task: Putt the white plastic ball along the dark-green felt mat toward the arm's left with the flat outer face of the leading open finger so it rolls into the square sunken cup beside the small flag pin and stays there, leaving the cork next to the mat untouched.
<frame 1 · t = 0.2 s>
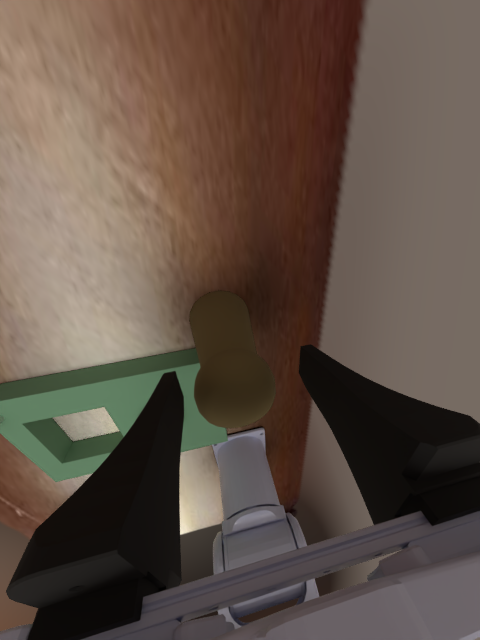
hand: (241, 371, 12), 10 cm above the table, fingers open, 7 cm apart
green: (131, 408, 25), on the table
cork: (219, 317, 22), on the table
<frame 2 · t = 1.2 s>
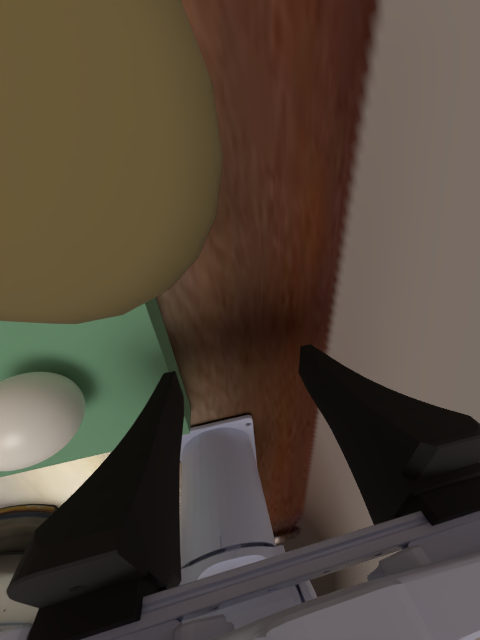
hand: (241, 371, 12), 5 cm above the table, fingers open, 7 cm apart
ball: (30, 417, 11), point 5 cm above the table, touching green
green: (16, 374, 15), on the table
apothecary jar: (32, 523, 24), on the table
cork: (152, 185, 11), on the table
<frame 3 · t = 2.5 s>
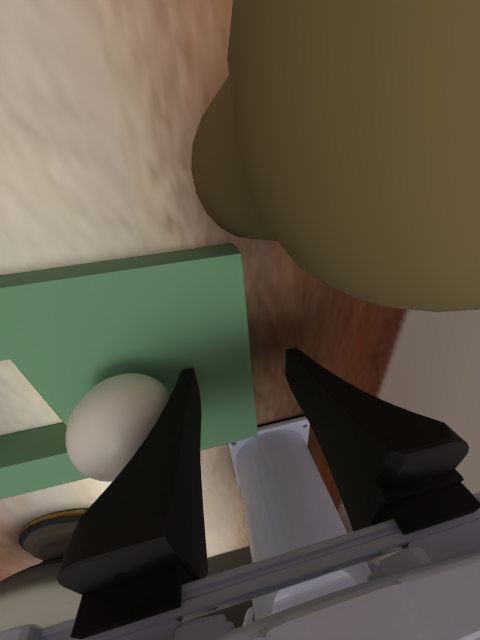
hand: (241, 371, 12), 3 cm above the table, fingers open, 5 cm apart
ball: (126, 421, 10), point 5 cm above the table, touching green, gripper
green: (87, 376, 14), on the table
apothecary jar: (77, 528, 23), on the table
cork: (254, 172, 10), on the table
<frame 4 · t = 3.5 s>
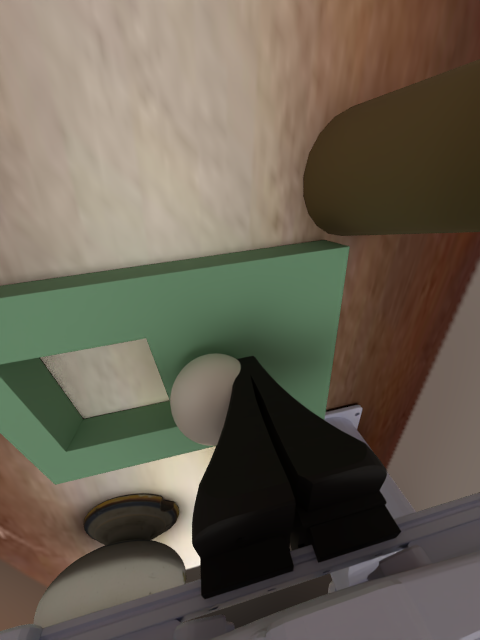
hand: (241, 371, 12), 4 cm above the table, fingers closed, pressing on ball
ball: (214, 396, 11), point 5 cm above the table, tilted 44°, touching green, gripper
green: (180, 360, 15), on the table
apothecary jar: (134, 514, 24), on the table
cork: (352, 178, 12), on the table
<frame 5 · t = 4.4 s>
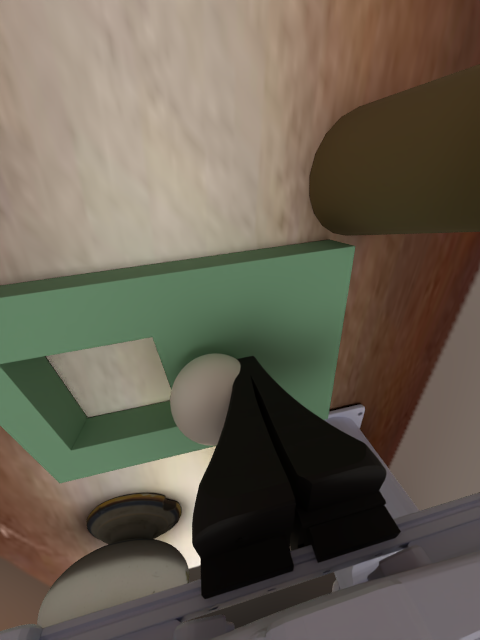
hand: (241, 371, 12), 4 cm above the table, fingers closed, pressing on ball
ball: (214, 396, 11), point 5 cm above the table, tilted 53°, touching green, gripper
green: (184, 359, 15), on the table
apothecary jar: (137, 513, 25), on the table
cork: (357, 178, 12), on the table
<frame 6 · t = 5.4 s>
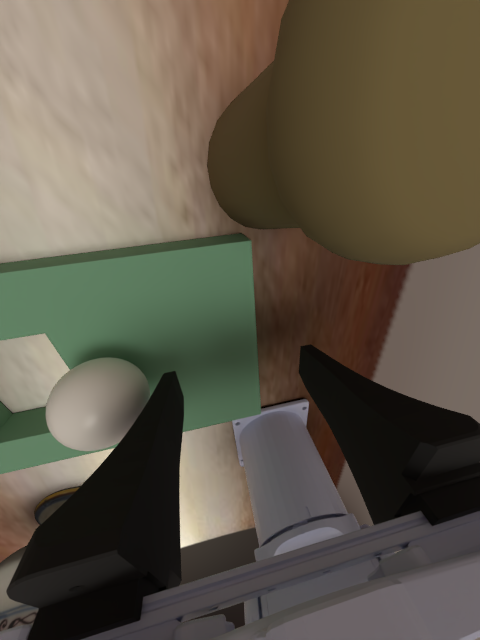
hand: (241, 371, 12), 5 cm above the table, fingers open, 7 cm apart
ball: (103, 400, 11), point 5 cm above the table, tilted 60°, touching green
green: (106, 355, 15), on the table
apothecary jar: (89, 505, 25), on the table
cork: (262, 168, 12), on the table
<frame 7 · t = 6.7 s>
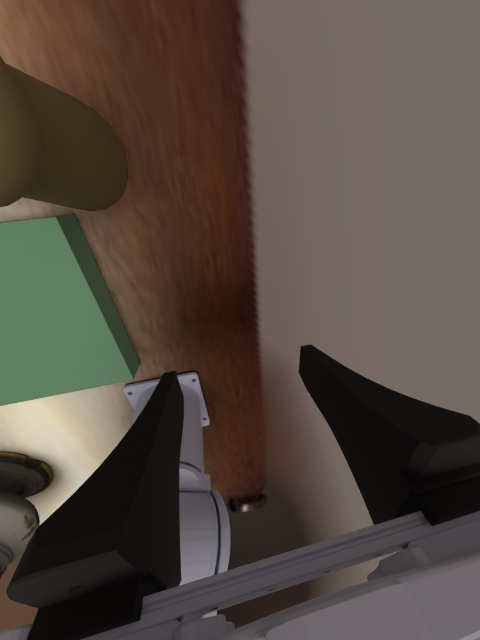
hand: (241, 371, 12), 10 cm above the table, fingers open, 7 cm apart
apothecary jar: (7, 472, 27), on the table
cork: (78, 159, 14), on the table
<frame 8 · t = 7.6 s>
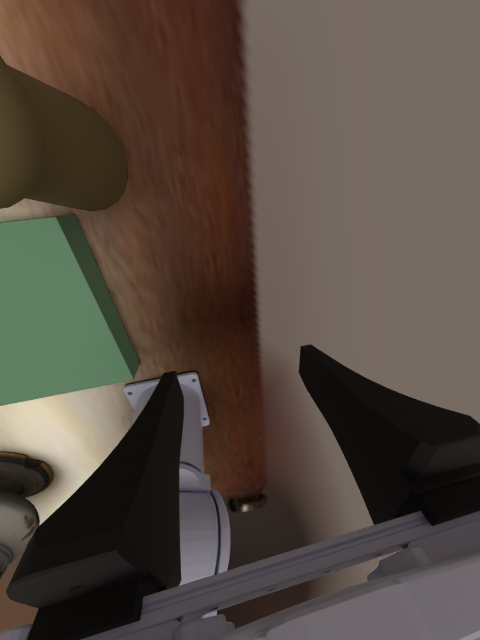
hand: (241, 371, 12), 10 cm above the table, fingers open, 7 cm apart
apothecary jar: (7, 472, 27), on the table
cork: (78, 159, 14), on the table
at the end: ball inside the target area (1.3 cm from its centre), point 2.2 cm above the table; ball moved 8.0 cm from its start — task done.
